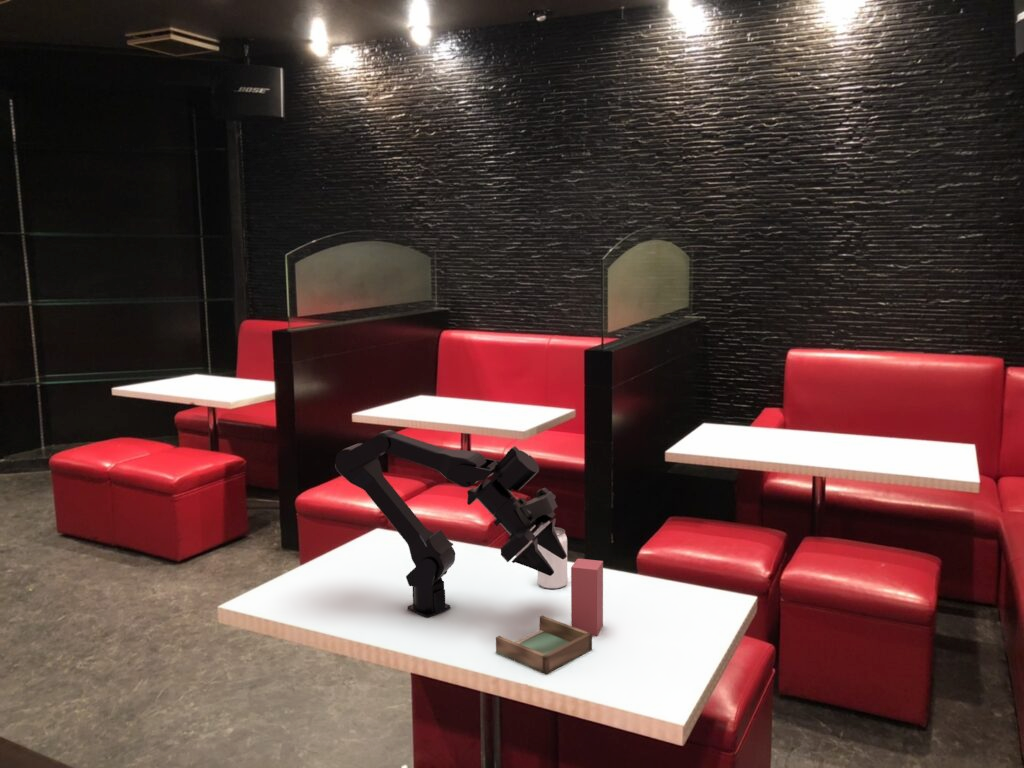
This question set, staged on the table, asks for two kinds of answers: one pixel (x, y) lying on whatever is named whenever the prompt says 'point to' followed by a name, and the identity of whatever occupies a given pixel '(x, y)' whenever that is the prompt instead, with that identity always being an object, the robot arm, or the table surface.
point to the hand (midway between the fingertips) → (559, 565)
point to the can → (554, 565)
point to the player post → (587, 595)
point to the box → (547, 646)
